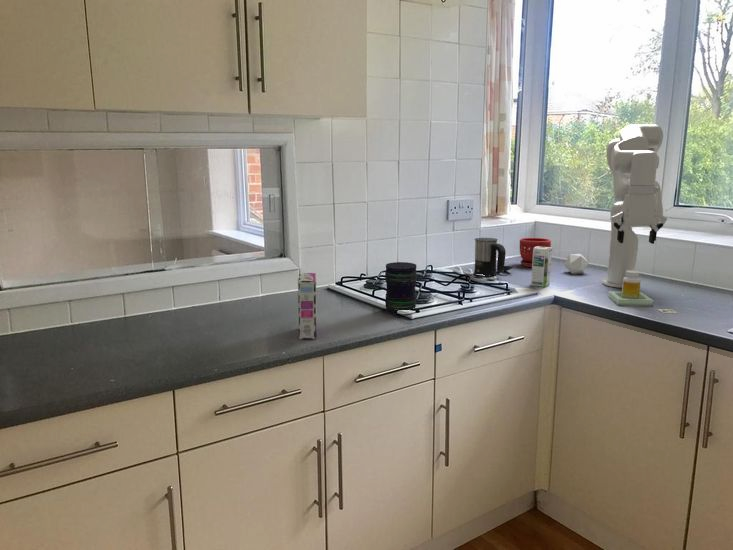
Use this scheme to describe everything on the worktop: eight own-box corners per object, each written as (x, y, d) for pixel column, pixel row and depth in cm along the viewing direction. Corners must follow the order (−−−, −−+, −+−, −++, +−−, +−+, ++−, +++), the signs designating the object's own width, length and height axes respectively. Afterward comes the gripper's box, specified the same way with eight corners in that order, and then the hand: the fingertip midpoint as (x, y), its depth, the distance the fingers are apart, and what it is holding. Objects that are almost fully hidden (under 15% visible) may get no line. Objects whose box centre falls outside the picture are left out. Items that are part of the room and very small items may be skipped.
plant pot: (555, 266, 250) (557, 239, 247) (534, 270, 244) (535, 242, 241) (533, 261, 261) (535, 235, 258) (512, 264, 255) (513, 238, 252)
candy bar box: (317, 339, 155) (316, 281, 152) (298, 340, 155) (297, 281, 151) (317, 327, 166) (316, 272, 163) (300, 327, 166) (298, 272, 162)
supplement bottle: (640, 302, 190) (643, 273, 188) (623, 301, 191) (626, 272, 189) (636, 298, 195) (639, 270, 193) (619, 297, 196) (622, 269, 194)
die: (586, 277, 232) (594, 257, 234) (568, 267, 231) (577, 247, 234) (575, 280, 240) (583, 260, 242) (558, 270, 239) (566, 250, 242)
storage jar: (418, 315, 178) (419, 268, 175) (386, 315, 177) (387, 268, 174) (413, 306, 188) (414, 261, 185) (383, 307, 187) (383, 262, 184)
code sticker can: (657, 309, 184) (657, 308, 184) (671, 309, 183) (671, 309, 183) (662, 312, 180) (662, 312, 180) (677, 313, 179) (677, 313, 179)
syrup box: (530, 285, 216) (532, 247, 213) (535, 282, 221) (537, 245, 218) (545, 287, 213) (548, 249, 210) (550, 284, 218) (552, 246, 215)
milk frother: (469, 275, 234) (470, 239, 231) (485, 268, 247) (486, 234, 243) (502, 279, 226) (504, 242, 223) (517, 272, 239) (519, 237, 235)
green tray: (608, 296, 199) (608, 291, 199) (641, 297, 198) (642, 292, 197) (617, 305, 189) (618, 299, 188) (652, 306, 187) (653, 300, 187)
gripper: (665, 189, 188) (659, 241, 191) (610, 189, 190) (605, 240, 194) (674, 191, 180) (667, 245, 184) (616, 191, 183) (611, 244, 187)
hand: (635, 242), depth 189 cm, fingers open, 9 cm apart
